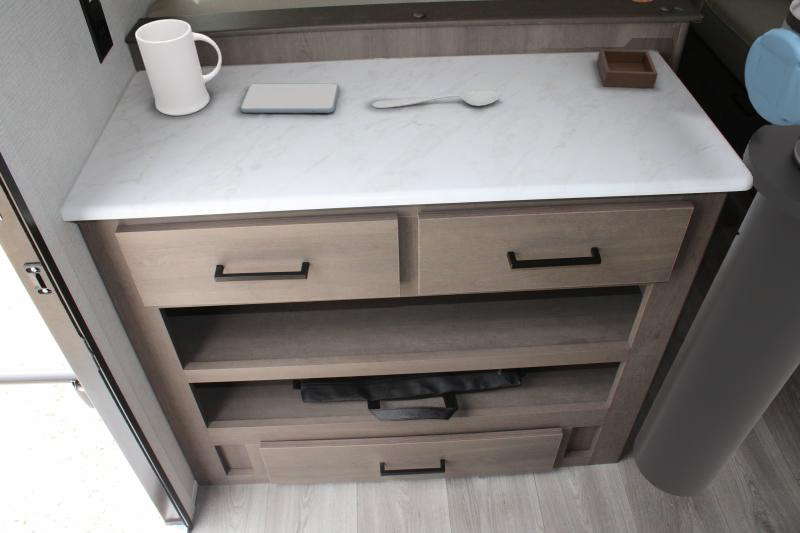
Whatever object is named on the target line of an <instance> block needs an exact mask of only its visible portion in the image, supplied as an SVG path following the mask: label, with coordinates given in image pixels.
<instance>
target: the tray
mask: <svg viewBox="0 0 800 533" xmlns="http://www.w3.org/2000/svg"><path fill="white" fill-rule="evenodd" d="M596 66H597V69H598V73H599V76H600V80H601V85H602V87H609V88H612V87H613V88H635V89H636V88H637V89H654V88H655V84H656V81H657V78H658V71H657V68H656V66H655V63H654V61H653V59H652V57H651V54H650V52H649V50H639V49H638V50H635V49H610V48H609V49H608V48H607V49H606V48H604V49H603V48H600V49H599V51H598V55H597V60H596Z"/></svg>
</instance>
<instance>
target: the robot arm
mask: <svg viewBox="0 0 800 533" xmlns="http://www.w3.org/2000/svg"><path fill="white" fill-rule="evenodd" d="M744 83H745V88H746V91H747V95H748V99H749V101H750V103H751V105H752V106H753V108H754V110H755V111H756V113H757V114H758V115H760V116H761V117H762V118H763V119H764V120H765V121H767V122H768V123H770V124H771V123H773V124H776V125H782V126H787V125H800V0H792V1H791V4H790V6H789V9H788V11H787V13H786V16H785V18H784V20H783V23H782V25H781V27H779V28H772V29H769V31H766V32H765V33H764V34H763V35H760V36H758V37H757V38H756V39H755V41H754V42H753V43H752V45H751V46H750V48H749V51H748V54H747V56H746V60H745V65H744ZM798 139H799V140H798ZM798 139H797V140H798V141H797V140H796V141H797V143H796V145H795V147H794V149H793V151H792V159H793V162H794V164H795V165H796V167H797V168H798V169H799V170H800V136H799V137H798Z"/></svg>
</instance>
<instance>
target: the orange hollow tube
mask: <svg viewBox="0 0 800 533" xmlns="http://www.w3.org/2000/svg"><path fill="white" fill-rule="evenodd" d="M632 1H633V2H637V3H649V2H652V1H653V0H632Z"/></svg>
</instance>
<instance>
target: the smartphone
mask: <svg viewBox="0 0 800 533" xmlns="http://www.w3.org/2000/svg"><path fill="white" fill-rule="evenodd" d="M339 91H340V85H339V84H338V83H335V82H327V83H326V82H319V83H317V82H316V83H315V82H312V83H307V82H305V83H303V82H301V83H300V82H298V83H297V82H296V83H294V82H293V83H289V82H288V83H287V82H286V83H284V82H283V83H282V82H281V83H279V82H277V83H274V82H273V83H272V82H271V83H270V82H269V83H265V82H264V83H262V82H261V83H260V82H259V83H257V82H255V83H254V82H253V83H250V84H249V86H248V88H247V90H246V92H245V95H244V98H243V100H242V102H241V105H240V107H239V109H240V112H242V113H243V114H246V113H248V114H249V113H250V114H251V113H253V114H254V113H255V114H259V113H261V114H262V113H263V114H268V113H270V114H273V113H277V114H279V113H282V114H284V113H286V114H288V113H291V114H292V113H293V114H297V113H299V114H300V113H301V114H302V113H305V114H306V113H307V114H311V113H315V114H316V113H317V114H320V113H321V114H322V113H325V114H327V113H329V114H330V113H333V112H334V111H335V110H336V106H337V105H336V104H337V101H338V100H337V99H338V95H339Z"/></svg>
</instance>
